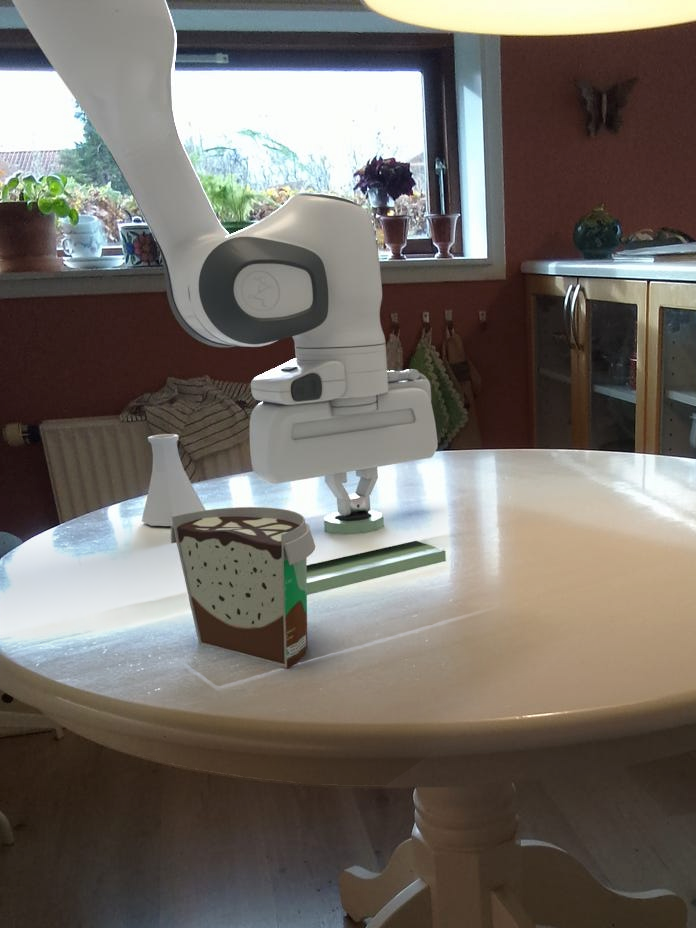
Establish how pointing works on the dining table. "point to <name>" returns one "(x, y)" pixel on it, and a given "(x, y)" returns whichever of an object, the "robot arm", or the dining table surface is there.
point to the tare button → (354, 517)
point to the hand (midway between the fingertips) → (354, 513)
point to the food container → (247, 580)
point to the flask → (168, 484)
